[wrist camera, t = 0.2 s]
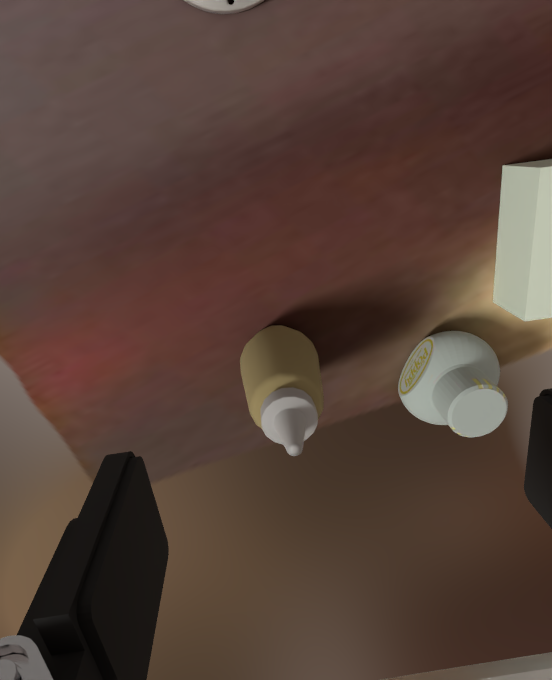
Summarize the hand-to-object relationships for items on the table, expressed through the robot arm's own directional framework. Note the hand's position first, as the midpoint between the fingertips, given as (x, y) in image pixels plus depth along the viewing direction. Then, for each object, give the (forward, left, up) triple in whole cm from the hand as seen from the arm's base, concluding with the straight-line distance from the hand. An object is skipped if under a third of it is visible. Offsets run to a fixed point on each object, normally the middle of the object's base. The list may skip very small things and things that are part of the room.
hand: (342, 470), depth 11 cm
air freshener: (+18, +18, -37) cm, 45 cm away
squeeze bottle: (+13, 0, -37) cm, 39 cm away
